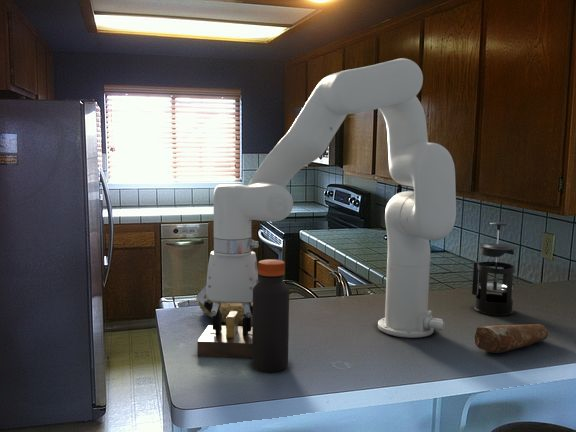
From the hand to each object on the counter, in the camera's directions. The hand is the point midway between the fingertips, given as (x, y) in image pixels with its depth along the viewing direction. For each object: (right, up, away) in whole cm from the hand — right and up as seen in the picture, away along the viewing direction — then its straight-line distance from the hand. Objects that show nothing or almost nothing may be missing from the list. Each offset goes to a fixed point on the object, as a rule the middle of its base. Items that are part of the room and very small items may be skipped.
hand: (232, 332), depth 114 cm
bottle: (+8, -5, -8) cm, 13 cm away
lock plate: (0, -3, 0) cm, 3 cm away
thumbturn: (0, 0, 0) cm, 0 cm away
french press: (+64, -1, +30) cm, 71 cm away
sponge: (-2, -1, +19) cm, 19 cm away
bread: (+59, -4, +4) cm, 59 cm away
